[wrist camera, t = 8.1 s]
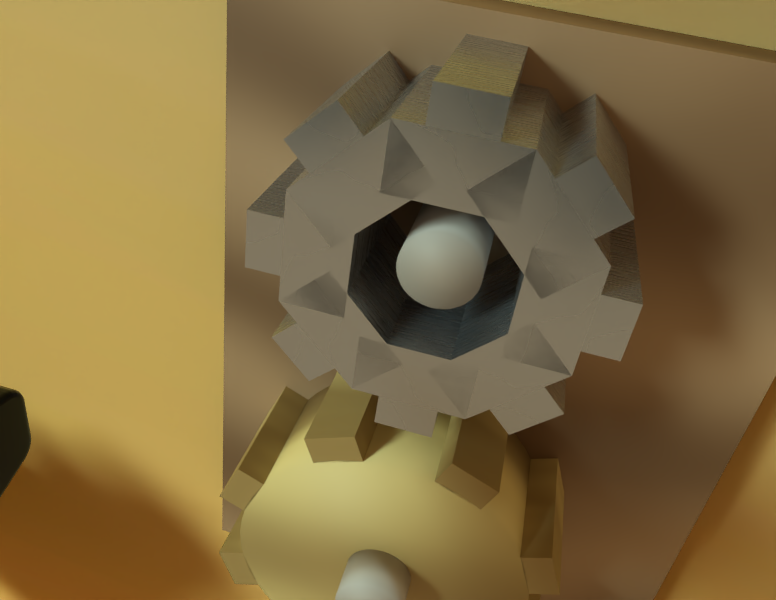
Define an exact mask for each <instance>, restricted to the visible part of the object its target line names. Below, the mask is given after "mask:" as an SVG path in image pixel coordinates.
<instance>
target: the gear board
mask: <svg viewBox="0 0 776 600" xmlns="http://www.w3.org/2000/svg"><path fill="white" fill-rule="evenodd" d="M466 34H469V35H474V36H479V37H484V38H489V39H494V40H499V41H504V42H509V43H514V44H519V45H524V46H528V50H527V54H526V59H525V63H524V67H523V71H522V75H521V80H520V83H522V84H527V85H532V86H537V87H542V88H546V89H549V91H550V93H551V94H552V96H553V98H554V99H555V101H556V102H557V104H558V106H559V107H560V109H561V111H562V112H563V113H564V112H566V111H567V110H569V109H571V108H572V107H574V106H575V105H577V104H579V103H580V102H582V101H584V100H585V99H587V98H589V97H590V96H592V95H594V94H595V93H596V95H597V96H598V98H599V100H600V101H601V103H602V105H603V106H604V108H605V110H606V111H607V113H608V115H609V117H610V118H611V120H612V122H613V123H614V125H615V127H616V128H617V130H618V132H619V133H620V135H621V137H622V138H623V140H624V142H625V144H626V147H627V155H628V164H629V172H630V181H631V190H632V198H633V207H634V215H635V219H634V228H635V237H636V246H637V255H638V263H639V272H640V281H641V290H642V299H643V306H642V309H641V311H640V314H639V316H638V319H637V321H636V324H635V327H634V329H633V332H632V334H631V337H630V339H629V342H628V344H627V347H626V349H625V352H624V354H623V357H622V359H621V361H617V360H613V359H609V358H605V357H601V356H597V355H593V354H589V353H585V352H580V355H579V358H578V360H577V363H576V366H575V369H574V372H573V374H572V376H570V377H568V378H566V386H565V406H564V414H563V415H560V416H557V417H555V418H552V419H550V420H547V421H544V422H542V423H539V424H536V425H534V426H531V427H529V428H526V429H523V430H521V431H518V432H515V433H513V434H510V435H509V434H508V433H507V432H506V430H505V429H504V428H503V426H502V425H501V424H500V422H499V421H498V420H497V419H496V417H495V416H494V415H493V413H492V412H491V411H490V409H489V410H487V411H484V412H482V413H479V414H477V415H474V416H472V417H470V418H467V419H463V418H459V417H455V416H451V415H448V414H444V413H440V412H438V416H437V420H436V423H435V427H434V430H433V434H432V438H431V437H428V436H424V435H420V434H417V433H413V432H409V431H406V430H402V429H398V428H395V427H391V426H387V425H384V424H380V423H376V422H374V421H375V415H376V409H377V403H378V398H379V396H377V395H373V394H369V393H366V392H362V391H358V390H354V389H352V388H351V387H350V386H349V385H348V384H347V382H346V381H345V380H344V379H343V378H342V376H341V375H340V374H339V373H338V372H337V370H336V369H335V368H334V369H332V370H330V371H328V372H326V373H324V374H322V375H320V376H318V377H316V378H314V379H312V380H310V381H308V379H307V378H306V377H305V376H304V375H303V374H302V372H301V371H300V370H299V369H298V368H297V367H296V365H295V364H294V363H293V362H292V361H291V359H290V358H289V357H288V356H287V355H286V354H285V352H284V351H283V350H282V349H281V348H280V347H279V345H278V344H277V343H276V342H275V341H274V340H273V338H272V336H273V334H274V333H275V331H276V330H277V328H278V327H279V325H280V324H281V322H282V321H283V319H284V318H285V316H286V315H287V313H288V312H287V310H286V309H285V308H284V307H283V306H282V304H281V303H280V302H279V287H280V276H278V275H274V274H270V273H266V272H262V271H258V270H254V269H250V268H246V267H245V248H246V219H247V209H248V208H249V207H250V206H251V205H252V204H253V203H254V202H255V201H256V200H257V199H258V198H259V197H260V196H261V195H262V194H263V193H264V192H265V191H266V190H267V189H268V187H269V186H270V185H271V184H272V183H273V182H274V181H275V180H276V179H277V178H278V177H279V176H280V175H281V174H282V173H283V172H284V171H285V170H286V169H287V168H288V167H289V166H290V165H291V164H292V163H293V162H294V161H295V160H296V159H297V156H296V155H295V154H294V153H293V151H292V150H291V149H290V147H289V146H288V145H287V143H286V142H285V141H284V138H286V137H287V136H288V135H289V134H290V133H291V132H292V131H293V130H294V129H295V128H297V127H298V126H299V125H300V124H301V123H302V122H303V121H304V120H305V119H306V118H307V117H309V116H310V115H311V114H312V113H313V112H314V111H315V110H316V109H317V108H318V107H320V106H321V105H322V104H323V103H324V102H325V101H326V100H327V99H328V98H329V97H331V96H332V95H333V94H334V93H335V92H336V91H337V90H338V89H339V88H340V87H342V86H343V85H344V84H345V83H346V82H348V81H349V80H350V79H352V78H353V77H354V76H356V75H357V74H359V73H360V72H361V71H363V70H364V69H365V68H367V67H368V66H369V65H371V64H372V63H373V62H375V61H376V60H377V59H379V58H380V57H381V56H383V55H384V54H385V53H387V52H388V51H390V53H391V54H392V56H393V57H394V59H395V60H396V62H397V63H398V65H399V66H400V68H401V69H402V71H403V72H404V74H405V75H406V76H407V78H408V79H409V81H410V80H411V79H412V78H414V77H415V76H417V75H418V74H420V73H421V72H422V71H424V70H425V69H427V68H428V67H429V66H431V65H435V66H440V67H443V66H444V65H445V63H446V62H447V60H448V59H449V58H450V56H451V55H452V53H453V52H454V51H455V49H456V48H457V46H458V45H459V44H460V42H461V41H462V39H463V38H464V37H465V35H466ZM391 216H392V217H393V219H394V220H395V221H396V223H397V224H398V225H399V227H400V228H401V230H402V231H403V232H404V234H405V235H406V236H407V238H406V240H405V242H404V244H403V246H402V248H401V250H400V252H399V255H398V258H397V262H396V272H397V277H398V279H399V282H400V284H401V286H402V287H403V289H404V290H405V291H406V293H407V294H408V295H409V296H410V297H411V298H413V299H414V300H415V301H417V302H419V303H420V304H422V305H425V306H427V307H431V308H435V309H452V308H456V307H459V306H462V305H464V304H466V303H467V302H469V301H470V300H471V299H472V298H473V297H474V296H475V295H476V294H477V292H478V291H479V289H480V287H481V284H482V280H483V277H484V273H485V269H486V266H487V265H489V264H491V263H493V262H495V261H497V260H498V259H500V258H502V257H504V256H506V255H508V254H509V252H508V251H507V249H506V248H505V246H504V245H503V243H502V242H501V240H500V239H499V238H498V236H497V235H496V233H495V232H494V230H493V229H492V227H491V226H490V225H489V223H488V222H487V220H486V219H485V217H482V216H478V215H473V214H469V213H465V212H460V211H456V210H452V209H447V208H443V207H439V206H434V205H430V204H426V203H421V202H417V201H413V200H410V201H409V202H407V203H406V204H404V205H402V206H401V207H399V208H397V209H396V210H394V211H392V213H391ZM775 376H776V51H772V50H767V49H761V48H756V47H751V46H745V45H740V44H734V43H729V42H724V41H718V40H713V39H708V38H702V37H697V36H691V35H686V34H681V33H675V32H670V31H664V30H659V29H654V28H648V27H643V26H637V25H632V24H627V23H621V22H616V21H610V20H605V19H600V18H594V17H589V16H584V15H578V14H573V13H567V12H562V11H557V10H551V9H546V8H540V7H535V6H530V5H524V4H519V3H513V2H508V1H503V0H227V73H226V186H225V300H224V413H223V491H222V493H221V495H220V497H222V498H223V527H222V530H225V531H228V532H230V534H229V535H228V537H227V539H226V541H225V543H224V545H223V547H222V548H221V550H220V552H219V553H220V555H221V557H222V559H223V561H224V563H225V565H226V567H227V569H228V571H229V573H230V575H231V577H232V579H233V581H234V583H235V584H249V585H259V586H260V587H261V589H262V590H263V591H264V593H265V594H266V595H267V596H268V597H269V598H270V599H271V600H653V599H654V598H655V596H656V594H657V592H658V590H659V588H660V587H661V585H662V583H663V581H664V579H665V577H666V576H667V574H668V572H669V570H670V568H671V566H672V565H673V563H674V561H675V559H676V557H677V556H678V554H679V552H680V550H681V548H682V546H683V545H684V543H685V541H686V539H687V537H688V535H689V534H690V532H691V530H692V528H693V526H694V524H695V523H696V521H697V519H698V517H699V515H700V513H701V512H702V510H703V508H704V506H705V504H706V502H707V501H708V499H709V497H710V495H711V493H712V491H713V490H714V488H715V486H716V484H717V482H718V480H719V479H720V477H721V475H722V473H723V471H724V470H725V468H726V466H727V464H728V462H729V460H730V459H731V457H732V455H733V453H734V451H735V449H736V448H737V446H738V444H739V442H740V440H741V438H742V437H743V435H744V433H745V431H746V429H747V427H748V426H749V424H750V422H751V420H752V418H753V416H754V415H755V413H756V411H757V409H758V407H759V405H760V404H761V402H762V400H763V398H764V396H765V394H766V393H767V391H768V389H769V387H770V385H771V383H772V382H773V380H774V378H775Z"/></svg>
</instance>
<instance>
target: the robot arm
mask: <svg viewBox="0 0 776 600" xmlns="http://www.w3.org/2000/svg"><path fill="white" fill-rule="evenodd" d="M30 444H31V434H30V429H29V423H28V418H27V413H26V407H25V402H24V398H23V396H22V395H21V394H20V392H18V391H16V390H14V389H10V388H7V387H3V386H0V497H1V495H2V494H3V492H4V491H5V489H6V488H7V486H8V484H9V483H10V481H11V480H12V478H13V477H14V475H15V473H16V472H17V470H18V469H19V467H20V466H21V464H22V462H23V461H24V459H25V458H26V456H27V453H28V451H29V448H30Z"/></svg>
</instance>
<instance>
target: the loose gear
mask: <svg viewBox="0 0 776 600" xmlns="http://www.w3.org/2000/svg"><path fill="white" fill-rule="evenodd" d="M527 50H528V46H524V45H519V44H514V43H509V42H504V41H499V40H494V39H489V38H484V37H479V36H474V35H469V34H466V35H465V37H464V38H463V39H462V41H461V42H460V44H459V45H458V46H457V48H456V49H455V51H454V52H453V53H452V55H451V56H450V58H449V59H448V60H447V62H446V63H445V65H444V66H443V67H440V66H435V65H431V66H429V67H428V68H427V69H425V70H424V71H422V72H421V73H420V74H418V75H417V76H415V77H414V78H412V79H411V80H410V81H409V79H408V78H407V76H406V75H405V74H404V72H403V71H402V69H401V68H400V66H399V65H398V63H397V62H396V60H395V59H394V57H393V56H392V54H391V53H390V51H388V52H387V53H385V54H384V55H383V56H381V57H380V58H379V59H377V60H376V61H375V62H373V63H372V64H371V65H369V66H368V67H367V68H365V69H364V70H363V71H361V72H360V73H359V74H357V75H356V76H354V77H353V78H352V79H350V80H349V81H348V82H346V83H345V84H344V85H343V86H342V87H340V88H339V89H338V90H337V91H336V92H335V93H334V94H333V95H332V96H331V97H329V98H328V99H327V100H326V101H325V102H324V103H323V104H322V105H321V106H320V107H318V108H317V109H316V110H315V111H314V112H313V113H312V114H311V115H310V116H309V117H307V118H306V119H305V120H304V121H303V122H302V123H301V124H300V125H299V126H298V127H297V128H295V129H294V130H293V131H292V132H291V133H290V134H289V135H288V136H287V137H286V138H284V141H285V142H286V143H287V145H288V146H289V147H290V149H291V150H292V151H293V153H294V154H295V155H296V156H297V159H296V160H295V161H294V162H293V163H292V164H291V165H290V166H289V167H288V168H287V169H286V170H285V171H284V172H283V173H282V174H281V175H280V176H279V177H278V178H277V179H276V180H275V181H274V182H273V183H272V184H271V185H270V186H269V187H268V189H267V190H266V191H265V192H264V193H263V194H262V195H261V196H260V197H259V198H258V199H257V200H256V201H255V202H254V203H253V204H252V205H251V206H250V207H249V208H248V209H247V219H246V248H245V267H246V268H250V269H254V270H258V271H262V272H266V273H270V274H274V275H278V276H280V287H279V302H280V303H281V304H282V306H283V307H284V308H285V309H286V310H287V312H288V313H287V315H286V316H285V318H284V319H283V321H282V322H281V324H280V325H279V327H278V328H277V330H276V331H275V333H274V334H273V336H272V338H273V340H274V341H275V342H276V343H277V344H278V345H279V347H280V348H281V349H282V350H283V351H284V352H285V354H286V355H287V356H288V357H289V358H290V359H291V361H292V362H293V363H294V364H295V365H296V367H297V368H298V369H299V370H300V371H301V372H302V374H303V375H304V376H305V377H306V378H307V379H308V381H310V380H312V379H314V378H316V377H318V376H320V375H322V374H324V373H326V372H328V371H330V370H332V369H334V368H335V369H336V370H337V372H338V373H339V374H340V375H341V376H342V378H343V379H344V380H345V381H346V382H347V384H348V385H349V386H350V387H351V388H352V389H354V390H358V391H362V392H366V393H369V394H373V395H377V396H379V398H378V403H377V409H376V415H375V421H374V422H376V423H380V424H384V425H387V426H391V427H395V428H398V429H402V430H406V431H409V432H413V433H417V434H420V435H424V436H428V437H431V438H432V434H433V430H434V427H435V423H436V420H437V416H438V412H440V413H444V414H448V415H451V416H455V417H459V418H463V419H467V418H470V417H472V416H474V415H477V414H479V413H482V412H484V411H487V410H489V409H490V411H491V412H492V413H493V415H494V416H495V417H496V419H497V420H498V421H499V422H500V424H501V425H502V426H503V428H504V429H505V430H506V432H507V433H508V434H509V435H510V434H513V433H515V432H518V431H521V430H523V429H526V428H529V427H531V426H534V425H536V424H539V423H542V422H544V421H547V420H550V419H552V418H555V417H557V416H560V415H563V414H564V406H565V386H566V378H568V377H570V376H572V374H573V372H574V369H575V366H576V363H577V360H578V358H579V355H580V352H585V353H589V354H593V355H597V356H601V357H605V358H609V359H613V360H617V361H621V359H622V357H623V354H624V352H625V349H626V347H627V344H628V342H629V339H630V337H631V334H632V332H633V329H634V327H635V324H636V321H637V319H638V316H639V314H640V311H641V309H642V306H643V299H642V290H641V281H640V272H639V263H638V255H637V246H636V237H635V228H634V219H635V215H634V207H633V198H632V190H631V181H630V172H629V164H628V155H627V147H626V144H625V142H624V140H623V138H622V137H621V135H620V133H619V132H618V130H617V128H616V127H615V125H614V123H613V122H612V120H611V118H610V117H609V115H608V113H607V111H606V110H605V108H604V106H603V105H602V103H601V101H600V100H599V98H598V96H597V95H596V93H595V94H594V95H592V96H590V97H589V98H587V99H585V100H584V101H582V102H580V103H579V104H577V105H575V106H574V107H572V108H571V109H569V110H567V111H566V112H564V113H563V112H562V111H561V109H560V107H559V106H558V104H557V102H556V101H555V99H554V98H553V96H552V94H551V93H550V91H549V89H546V88H542V87H537V86H532V85H527V84H522V83H520V80H521V75H522V71H523V67H524V63H525V59H526V54H527ZM410 200H413V201H417V202H421V203H426V204H430V205H434V206H439V207H443V208H447V209H452V210H456V211H460V212H465V213H469V214H473V215H478V216H482V217H485V219H486V220H487V222H488V223H489V225H490V226H491V227H492V229H493V230H494V232H495V233H496V235H497V236H498V238H499V239H500V240H501V242H502V243H503V245H504V246H505V248H506V249H507V251H508V252H509V254H508V255H506V256H504V257H502V258H500V259H498V260H497V261H495V262H493V263H491V264H489V265H487V266H486V269H485V273H484V277H483V280H482V284H481V287H480V289H479V291H478V292H477V294H476V295H475V296H474V297H473V298H472V299H471V300H470V301H469V302H467V303H466V304H464V305H462V306H459V307H456V308H452V309H435V308H431V307H427V306H425V305H422V304H420V303H419V302H417V301H415V300H414V299H413V298H411V297H410V296H409V295H408V294H407V293H406V291H405V290H404V289H403V287H402V286H401V284H400V282H399V279H398V277H397V272H396V262H397V258H398V255H399V252H400V250H401V248H402V246H403V244H404V242H405V240H406V238H407V236H406V235H405V234H404V232H403V231H402V230H401V228H400V227H399V225H398V224H397V223H396V221H395V220H394V219H393V217H392V216H391V213H392V211H394V210H396V209H397V208H399V207H401V206H402V205H404V204H406V203H407V202H409V201H410Z"/></svg>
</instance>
